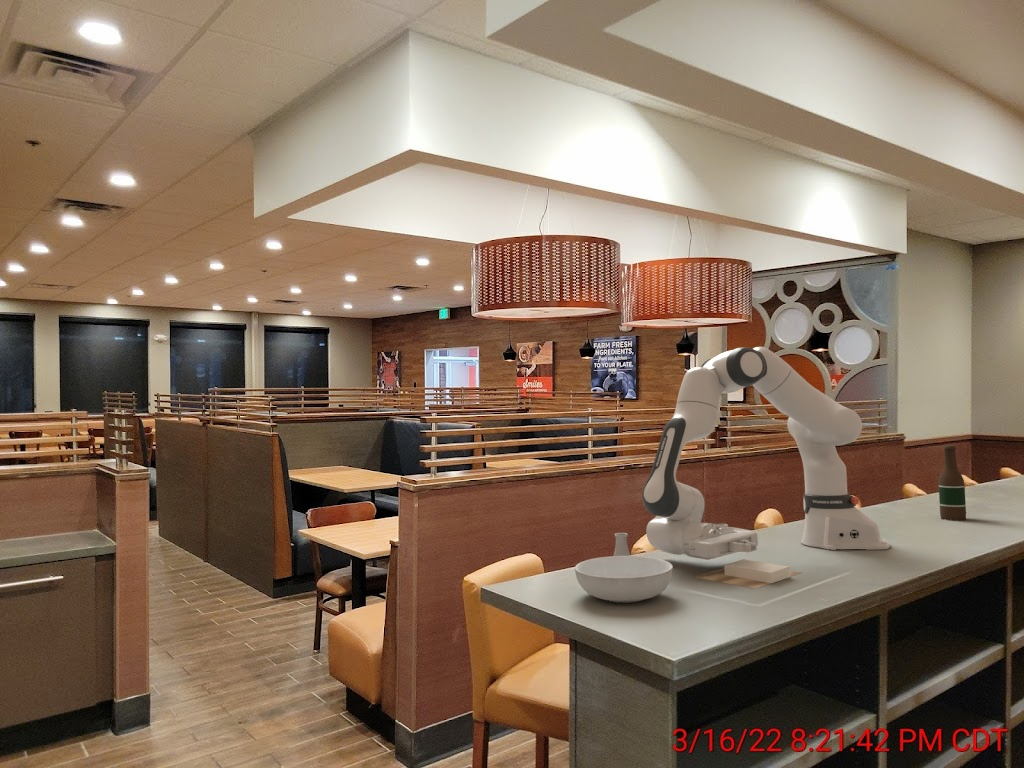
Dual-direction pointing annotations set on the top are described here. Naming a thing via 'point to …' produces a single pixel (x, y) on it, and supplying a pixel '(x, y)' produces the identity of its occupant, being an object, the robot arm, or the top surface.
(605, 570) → the serving bowl
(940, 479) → the beer bottle
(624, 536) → the flask
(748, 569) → the tile
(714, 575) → the wooden board
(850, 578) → the top surface
